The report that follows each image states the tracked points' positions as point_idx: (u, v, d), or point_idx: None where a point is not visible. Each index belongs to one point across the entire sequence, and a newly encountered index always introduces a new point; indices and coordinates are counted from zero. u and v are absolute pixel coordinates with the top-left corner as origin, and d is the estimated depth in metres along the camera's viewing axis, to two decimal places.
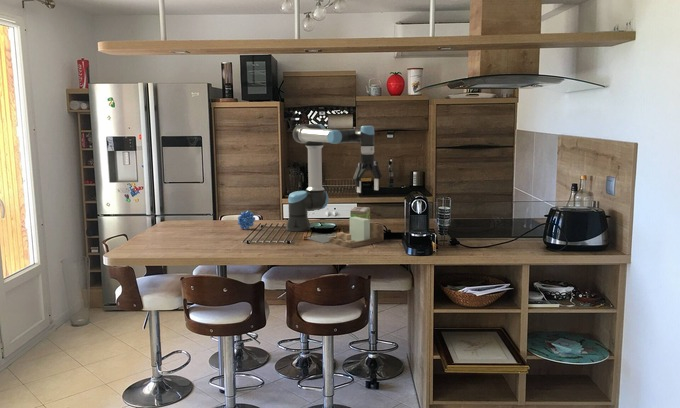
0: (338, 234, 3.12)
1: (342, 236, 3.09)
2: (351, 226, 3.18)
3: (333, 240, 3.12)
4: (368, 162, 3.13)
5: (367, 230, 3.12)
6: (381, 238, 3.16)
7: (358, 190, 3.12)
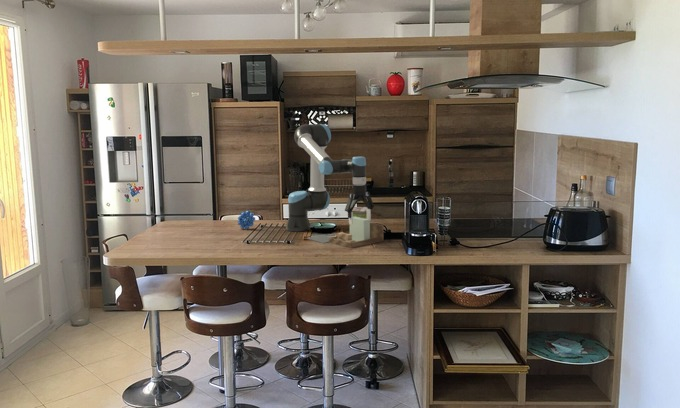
0: (339, 234, 3.12)
1: (343, 236, 3.09)
2: (351, 226, 3.18)
3: (333, 240, 3.12)
4: (360, 193, 3.12)
5: (367, 230, 3.12)
6: (381, 238, 3.16)
7: (350, 221, 3.11)
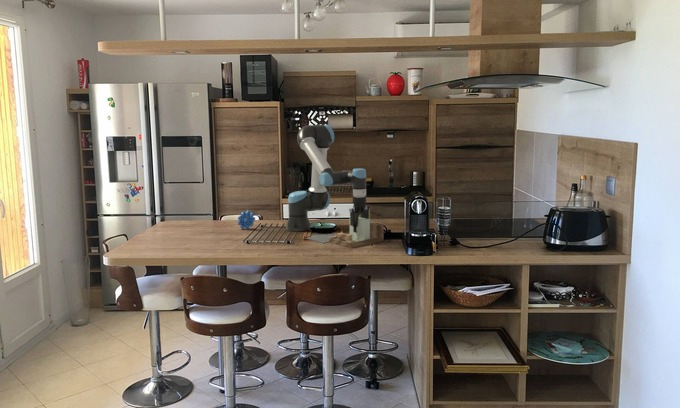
0: (338, 235, 3.11)
1: (343, 236, 3.09)
2: (351, 226, 3.18)
3: (333, 240, 3.12)
4: (360, 205, 3.13)
5: (367, 230, 3.12)
6: (381, 238, 3.16)
7: (355, 235, 3.15)
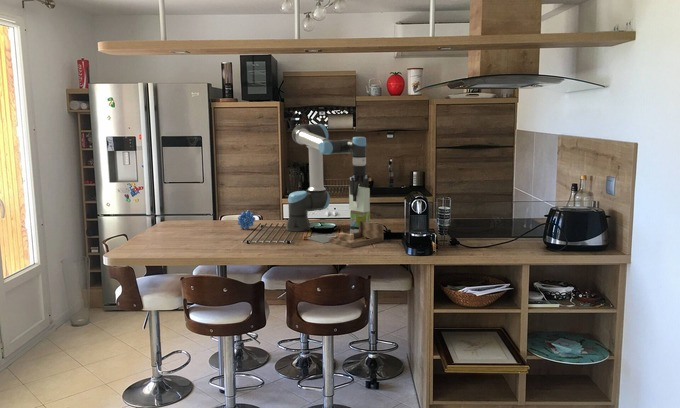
0: (339, 235, 3.11)
1: (345, 236, 3.09)
2: (351, 195, 3.15)
3: (333, 240, 3.12)
4: (360, 173, 3.10)
5: (367, 199, 3.09)
6: (381, 238, 3.16)
7: (355, 204, 3.12)
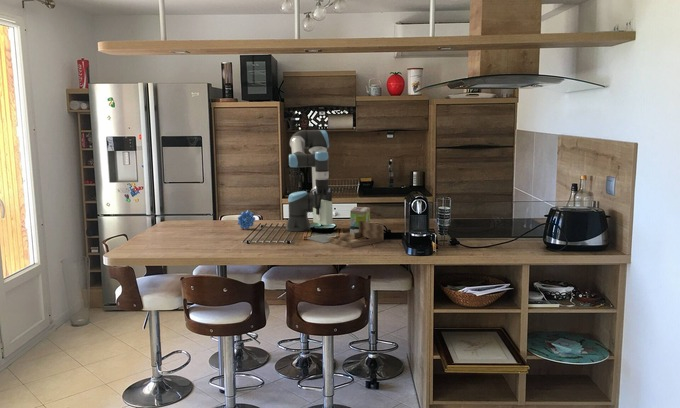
0: (341, 235, 3.09)
1: (348, 236, 3.09)
2: (314, 208, 3.21)
3: (333, 240, 3.12)
4: (322, 187, 3.16)
5: (329, 212, 3.15)
6: (381, 238, 3.16)
7: (318, 218, 3.18)
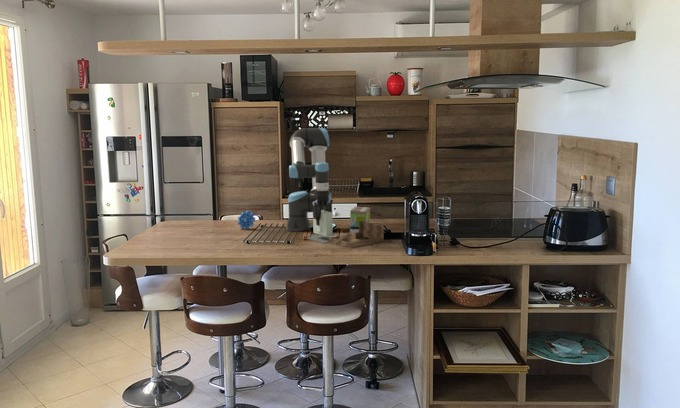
0: (342, 235, 3.09)
1: (349, 236, 3.10)
2: (314, 219, 3.22)
3: (333, 240, 3.12)
4: (323, 198, 3.17)
5: (330, 223, 3.16)
6: (381, 238, 3.16)
7: (318, 228, 3.19)
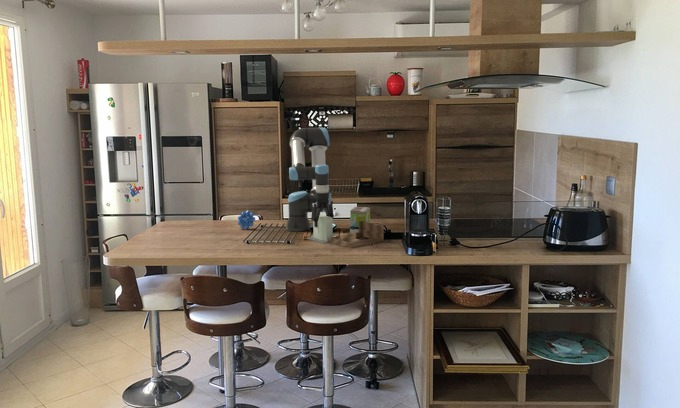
0: (344, 235, 3.09)
1: (350, 236, 3.10)
2: None
3: (333, 240, 3.12)
4: (323, 200, 3.17)
5: (330, 228, 3.17)
6: (381, 238, 3.16)
7: (316, 230, 3.18)
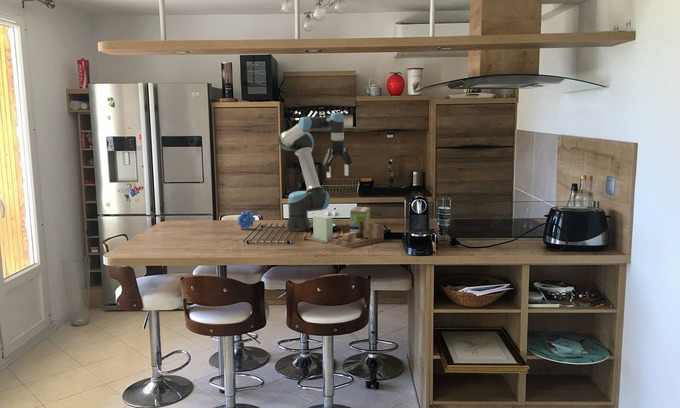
0: (348, 236, 3.09)
1: (352, 235, 3.11)
2: (315, 224, 3.23)
3: (333, 240, 3.12)
4: (338, 148, 3.25)
5: (330, 228, 3.17)
6: (381, 238, 3.16)
7: (328, 175, 3.24)
